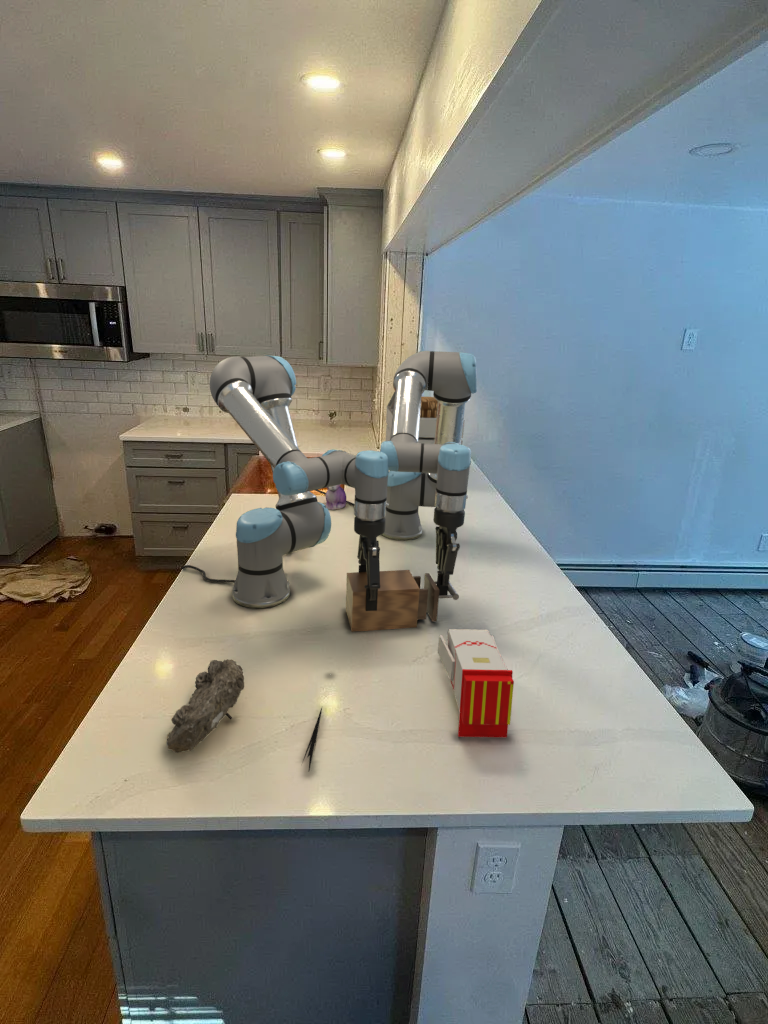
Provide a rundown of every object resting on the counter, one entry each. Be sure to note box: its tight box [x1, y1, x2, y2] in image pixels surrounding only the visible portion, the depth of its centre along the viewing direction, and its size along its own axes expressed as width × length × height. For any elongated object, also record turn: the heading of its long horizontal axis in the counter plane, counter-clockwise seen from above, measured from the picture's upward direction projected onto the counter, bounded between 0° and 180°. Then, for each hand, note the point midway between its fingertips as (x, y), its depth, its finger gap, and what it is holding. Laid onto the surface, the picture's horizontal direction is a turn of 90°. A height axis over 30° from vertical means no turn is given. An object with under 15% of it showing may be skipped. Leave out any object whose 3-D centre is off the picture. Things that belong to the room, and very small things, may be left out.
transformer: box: [384, 391, 465, 445], centre depth 268 cm, size 34×33×41 cm
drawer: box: [412, 572, 460, 622], centre depth 145 cm, size 21×9×9 cm, turn 101°
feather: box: [301, 673, 332, 771], centre depth 108 cm, size 2×28×2 cm
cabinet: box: [345, 569, 421, 633], centre depth 143 cm, size 16×11×11 cm, turn 101°
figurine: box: [325, 484, 347, 510], centre depth 222 cm, size 9×10×15 cm
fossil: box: [166, 658, 245, 754], centre depth 106 cm, size 22×10×15 cm
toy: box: [437, 628, 515, 738], centre depth 117 cm, size 12×13×30 cm
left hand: (367, 598), depth 142 cm, fingers closed on cabinet, 11 cm apart
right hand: (441, 594), depth 146 cm, fingers closed
